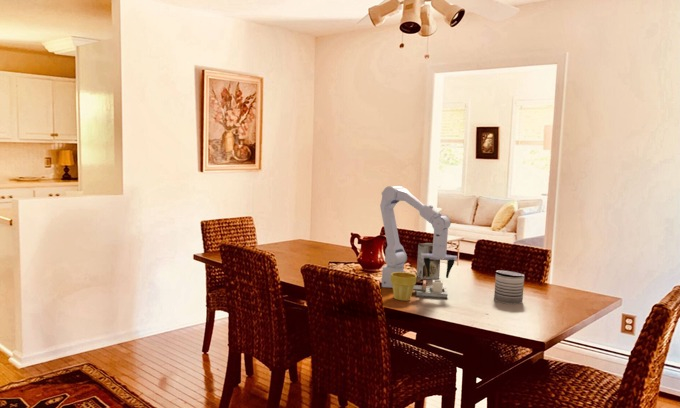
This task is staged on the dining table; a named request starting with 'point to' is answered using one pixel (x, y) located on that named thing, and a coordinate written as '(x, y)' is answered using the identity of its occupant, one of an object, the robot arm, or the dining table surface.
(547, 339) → the dining table surface
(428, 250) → the coffee box
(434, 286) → the plug
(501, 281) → the can
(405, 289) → the plant pot
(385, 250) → the robot arm
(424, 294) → the socket plate
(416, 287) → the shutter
